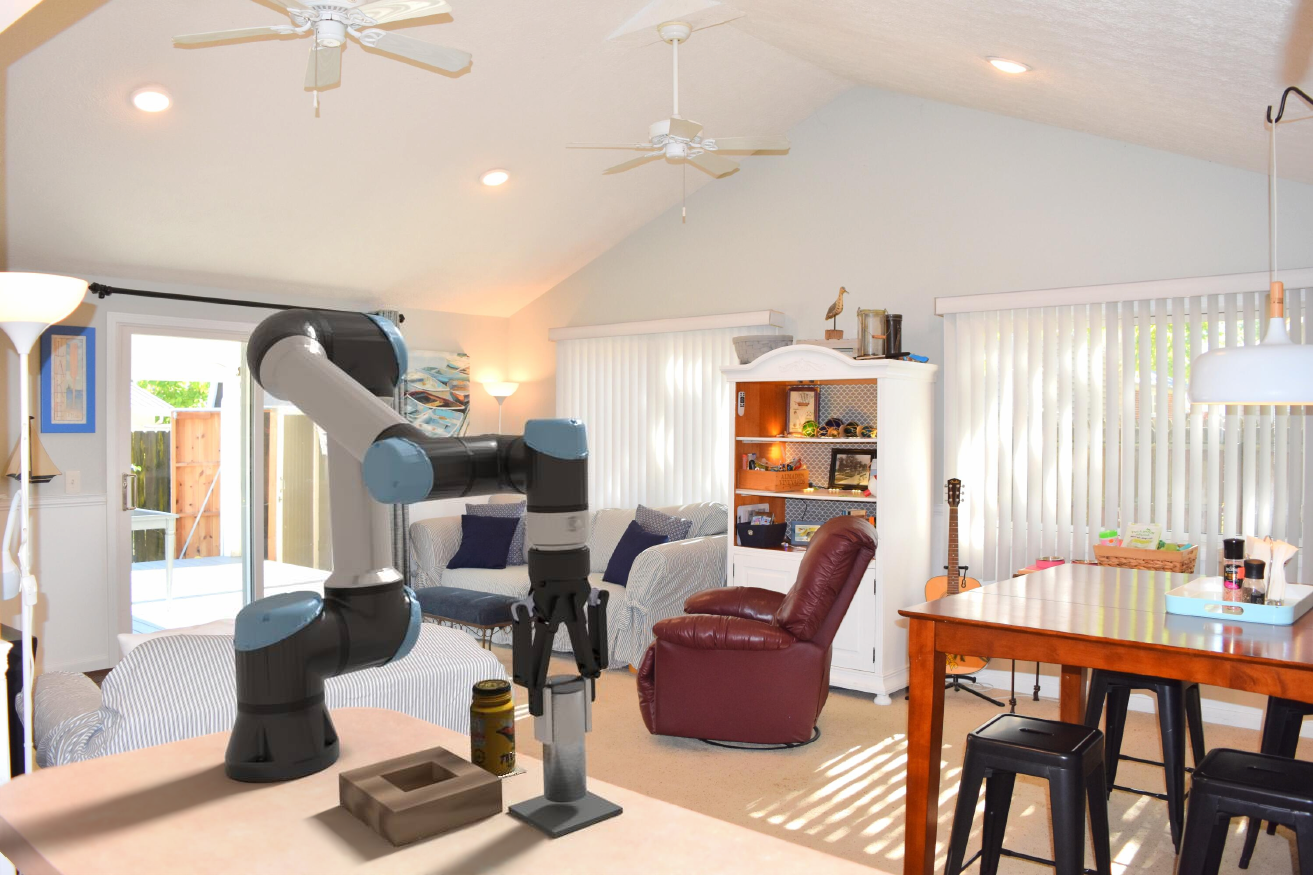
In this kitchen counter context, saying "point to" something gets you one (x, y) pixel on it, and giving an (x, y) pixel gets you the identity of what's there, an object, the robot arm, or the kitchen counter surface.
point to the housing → (419, 794)
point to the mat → (564, 813)
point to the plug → (566, 741)
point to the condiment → (493, 728)
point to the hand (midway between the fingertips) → (563, 734)
